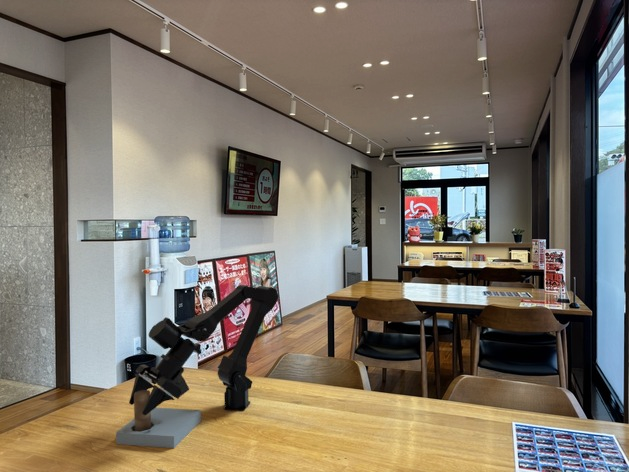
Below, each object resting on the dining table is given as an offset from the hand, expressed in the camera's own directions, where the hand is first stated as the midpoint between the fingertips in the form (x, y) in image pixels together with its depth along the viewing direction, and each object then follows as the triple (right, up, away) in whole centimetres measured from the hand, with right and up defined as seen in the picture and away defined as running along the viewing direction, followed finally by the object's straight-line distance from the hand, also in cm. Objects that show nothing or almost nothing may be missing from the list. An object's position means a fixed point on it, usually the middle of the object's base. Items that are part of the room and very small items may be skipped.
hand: (136, 409), depth 115 cm
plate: (+5, -8, +5) cm, 10 cm away
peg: (+1, -8, +1) cm, 8 cm away
